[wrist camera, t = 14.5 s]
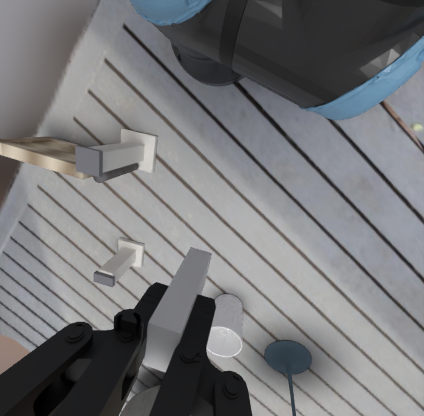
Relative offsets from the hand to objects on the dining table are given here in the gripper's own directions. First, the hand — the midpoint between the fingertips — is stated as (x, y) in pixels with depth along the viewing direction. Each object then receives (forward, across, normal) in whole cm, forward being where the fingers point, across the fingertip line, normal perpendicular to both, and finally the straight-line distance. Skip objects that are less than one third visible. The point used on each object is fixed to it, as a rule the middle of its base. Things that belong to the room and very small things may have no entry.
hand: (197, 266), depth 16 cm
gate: (+28, -29, -2) cm, 40 cm away
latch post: (+29, -20, -23) cm, 42 cm away
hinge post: (+29, -20, +1) cm, 36 cm away
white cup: (+30, +5, -30) cm, 42 cm away
